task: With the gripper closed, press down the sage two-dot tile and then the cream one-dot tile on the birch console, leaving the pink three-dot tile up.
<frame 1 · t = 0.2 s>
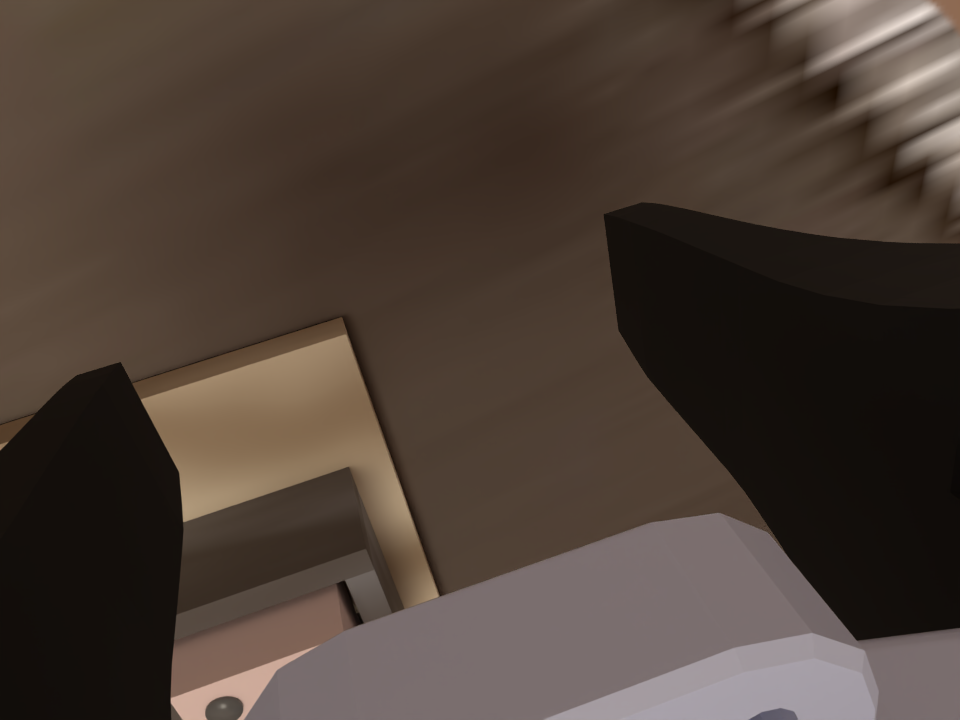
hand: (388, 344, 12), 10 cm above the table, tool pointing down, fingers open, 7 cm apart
tile three: (284, 676, 22), point 5 cm above the table, slide at 0.0 cm
console: (119, 612, 26), on the table
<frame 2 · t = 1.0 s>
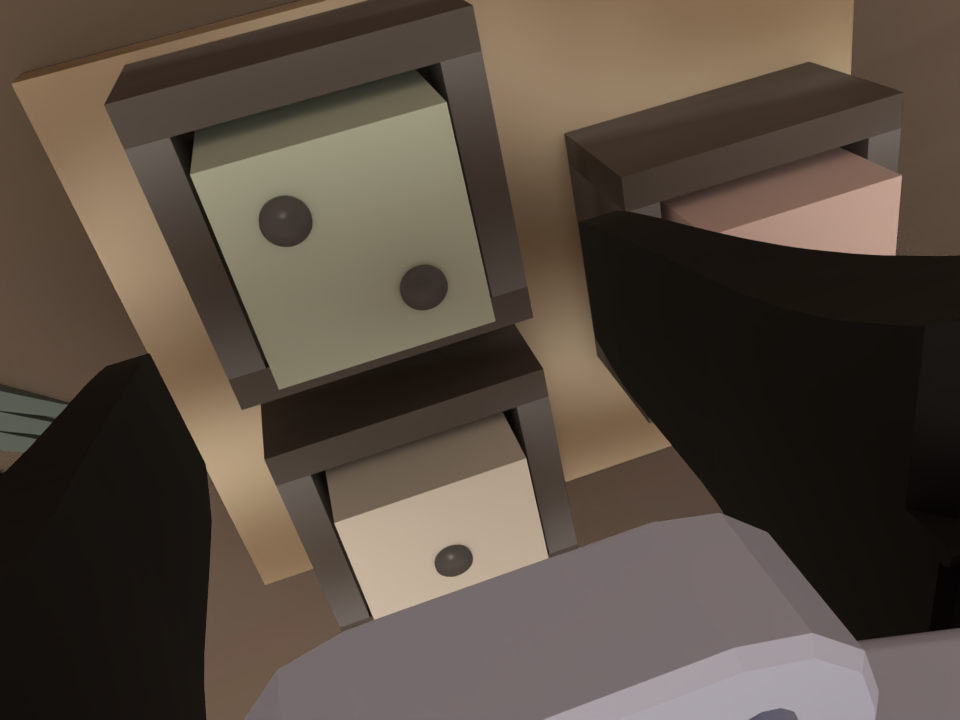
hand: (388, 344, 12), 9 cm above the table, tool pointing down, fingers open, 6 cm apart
tile three: (770, 272, 19), point 5 cm above the table, slide at 0.0 cm
tile two: (348, 228, 16), point 5 cm above the table, slide at 0.0 cm
tile one: (440, 521, 20), point 5 cm above the table, slide at 0.0 cm
console: (510, 257, 23), on the table
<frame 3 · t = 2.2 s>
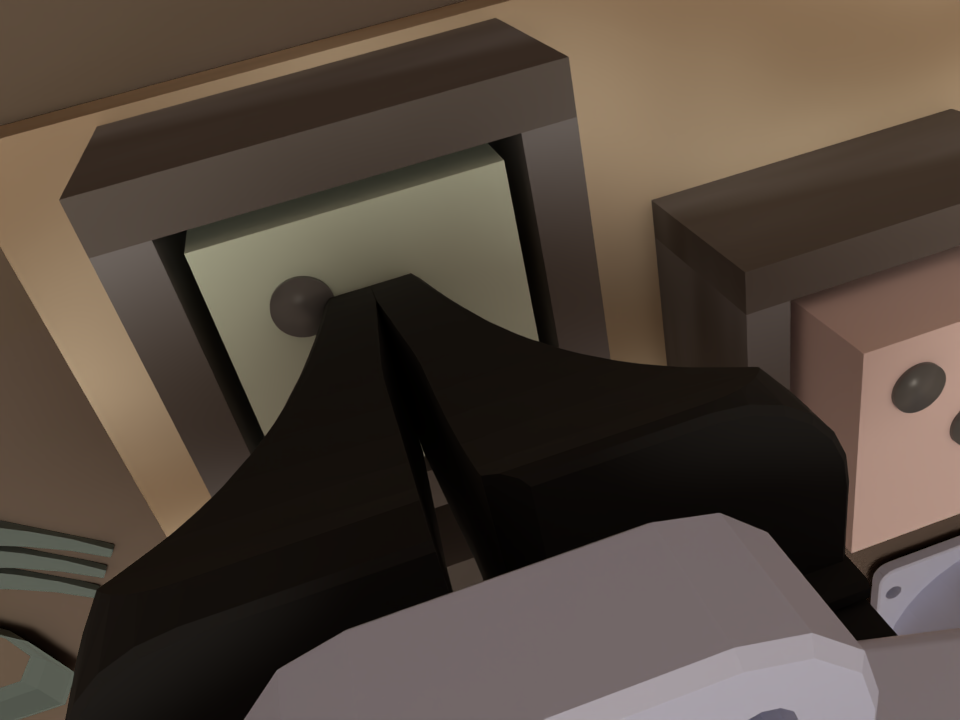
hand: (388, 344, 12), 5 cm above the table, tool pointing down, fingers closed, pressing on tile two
tile three: (917, 380, 15), point 5 cm above the table, slide at 0.0 cm
tile two: (376, 303, 13), point 3 cm above the table, slide at 1.5 cm, touching gripper
console: (574, 342, 19), on the table
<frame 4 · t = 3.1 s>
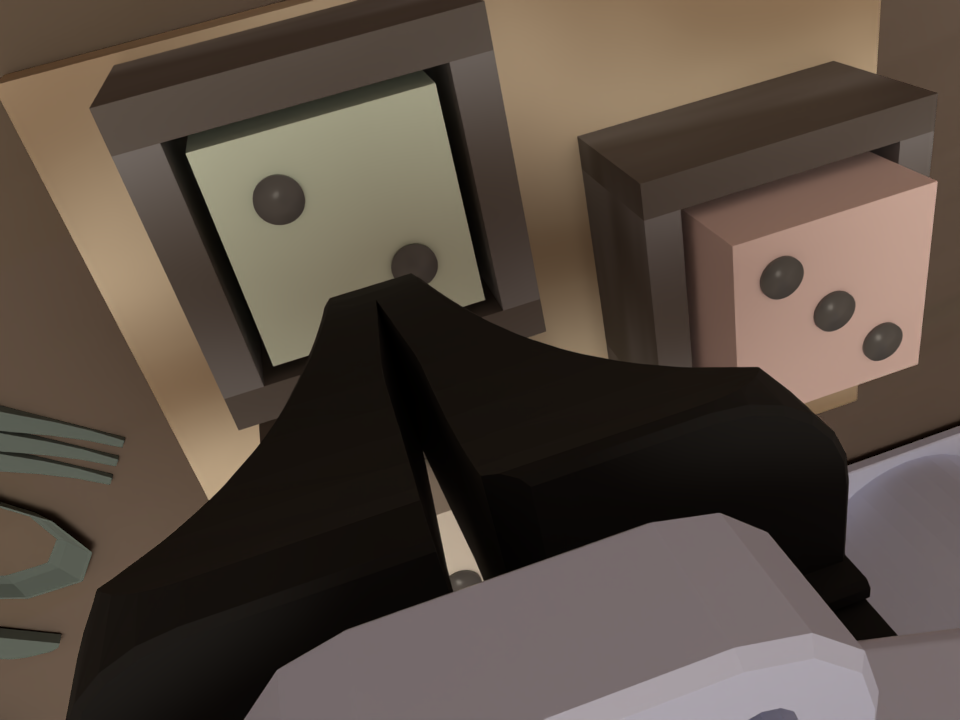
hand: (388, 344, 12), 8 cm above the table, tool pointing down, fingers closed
tile three: (795, 283, 18), point 5 cm above the table, slide at 0.0 cm
tile two: (340, 208, 16), point 3 cm above the table, slide at 1.6 cm
tile one: (447, 544, 19), point 5 cm above the table, slide at 0.0 cm
console: (519, 265, 22), on the table
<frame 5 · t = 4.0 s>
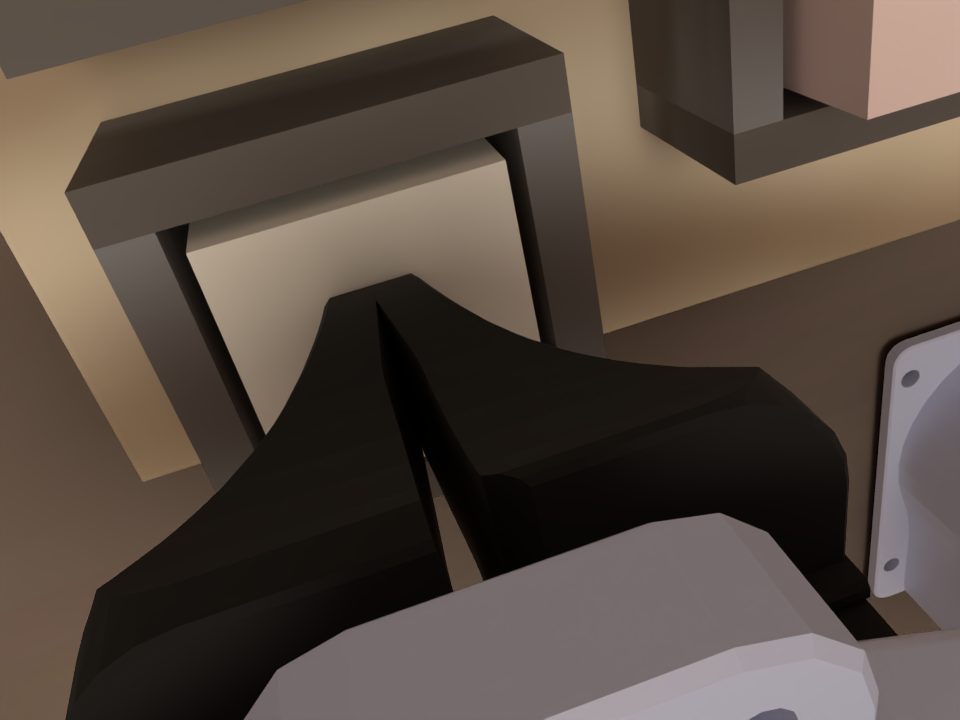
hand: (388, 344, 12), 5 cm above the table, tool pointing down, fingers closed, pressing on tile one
tile one: (377, 303, 13), point 3 cm above the table, slide at 1.3 cm, touching gripper
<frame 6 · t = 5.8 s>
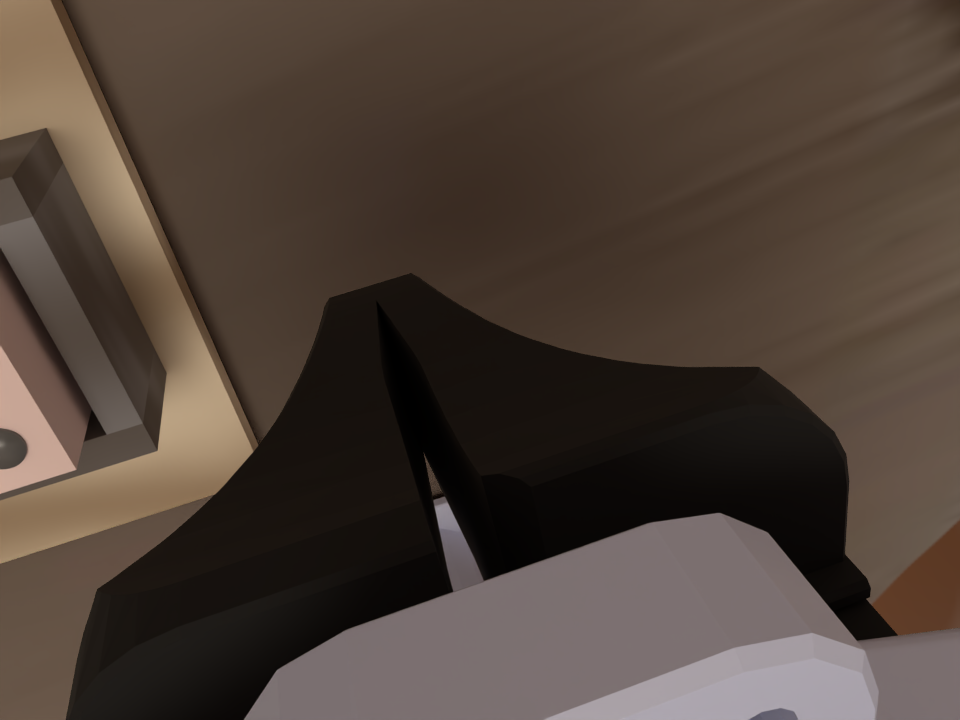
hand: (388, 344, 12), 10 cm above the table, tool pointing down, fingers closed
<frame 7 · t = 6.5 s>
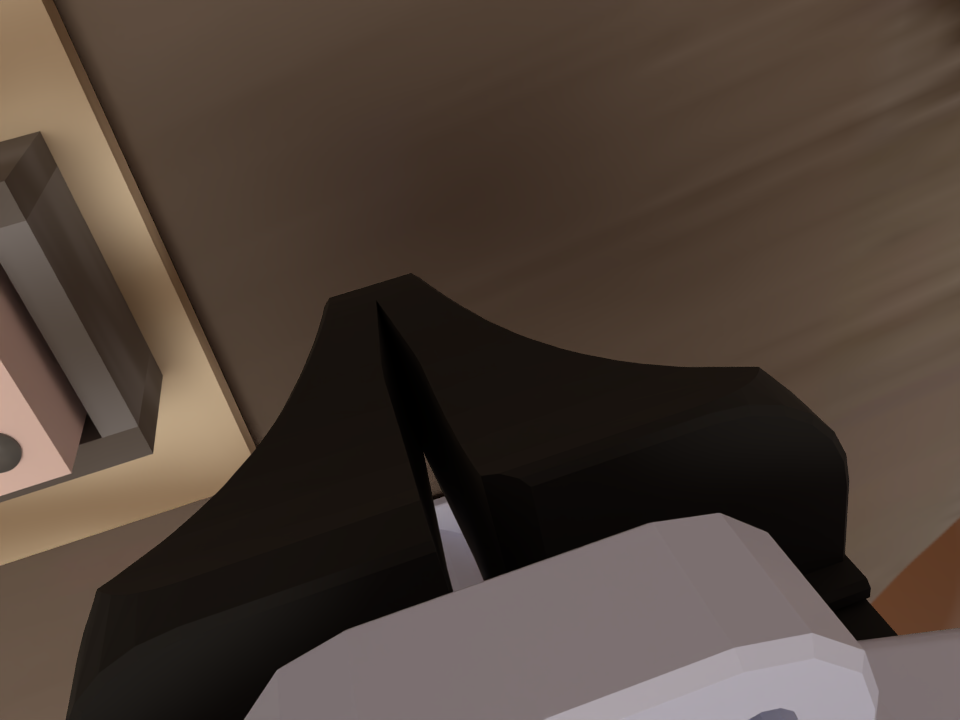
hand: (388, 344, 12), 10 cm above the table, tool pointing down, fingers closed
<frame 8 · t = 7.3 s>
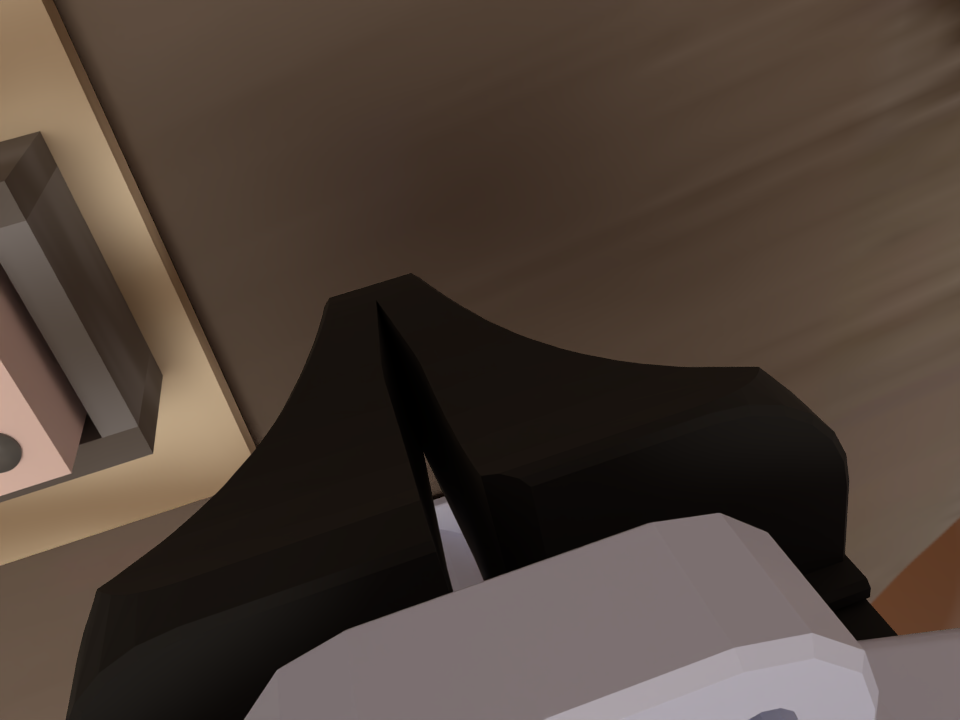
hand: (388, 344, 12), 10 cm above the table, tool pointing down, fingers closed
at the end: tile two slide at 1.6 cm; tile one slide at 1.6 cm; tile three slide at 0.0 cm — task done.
